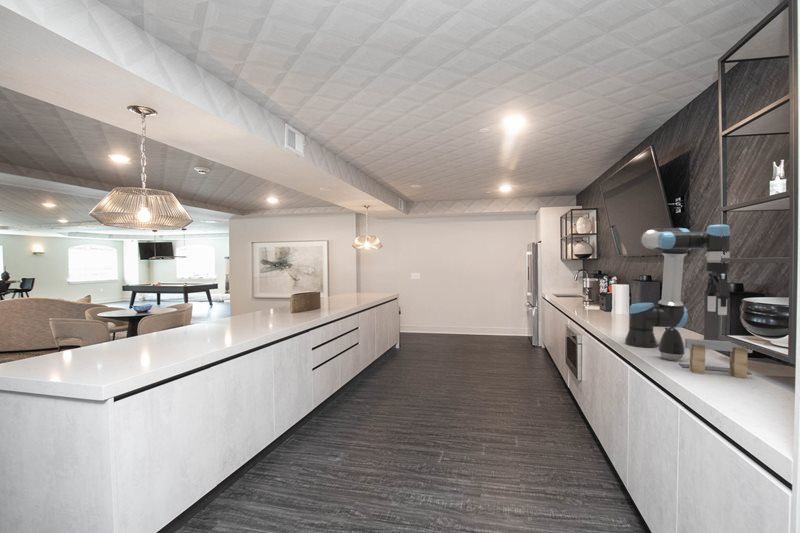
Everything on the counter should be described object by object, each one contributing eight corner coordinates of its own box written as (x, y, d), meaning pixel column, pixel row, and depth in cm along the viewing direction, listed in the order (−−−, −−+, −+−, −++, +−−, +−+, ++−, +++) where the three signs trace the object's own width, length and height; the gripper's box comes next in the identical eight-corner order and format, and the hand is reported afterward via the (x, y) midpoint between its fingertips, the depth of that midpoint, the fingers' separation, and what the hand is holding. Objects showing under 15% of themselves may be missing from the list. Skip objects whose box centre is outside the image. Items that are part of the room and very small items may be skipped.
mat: (678, 364, 183) (678, 363, 183) (744, 370, 174) (744, 369, 174) (682, 367, 177) (682, 367, 177) (751, 374, 167) (751, 373, 167)
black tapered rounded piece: (676, 357, 197) (676, 326, 197) (689, 362, 187) (690, 329, 186) (654, 356, 198) (654, 325, 198) (665, 361, 188) (666, 329, 187)
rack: (689, 369, 174) (689, 342, 174) (741, 374, 167) (742, 346, 167) (693, 372, 169) (693, 345, 169) (746, 378, 162) (747, 349, 162)
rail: (685, 346, 174) (685, 338, 174) (749, 351, 165) (749, 343, 165) (687, 347, 171) (687, 339, 171) (752, 353, 162) (752, 344, 162)
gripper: (698, 262, 181) (697, 309, 181) (716, 261, 158) (715, 315, 158) (718, 262, 178) (717, 310, 178) (740, 261, 155) (739, 317, 155)
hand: (716, 313), depth 168 cm, fingers open, 13 cm apart
